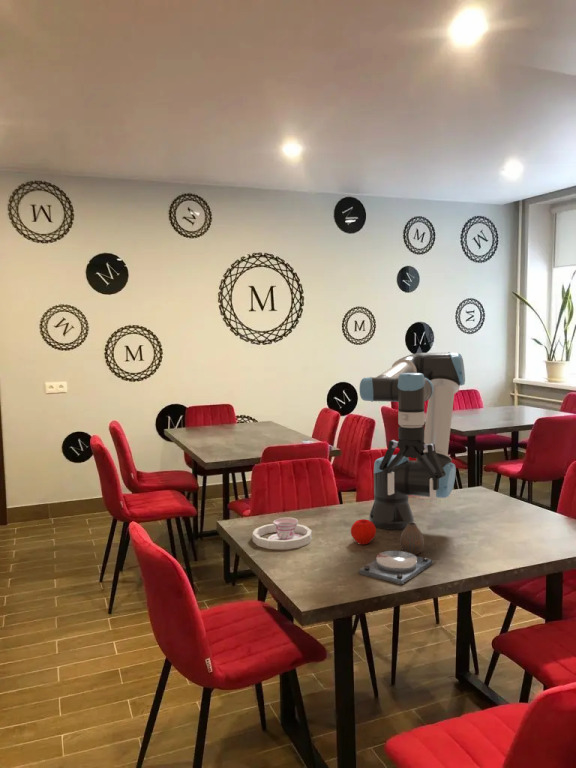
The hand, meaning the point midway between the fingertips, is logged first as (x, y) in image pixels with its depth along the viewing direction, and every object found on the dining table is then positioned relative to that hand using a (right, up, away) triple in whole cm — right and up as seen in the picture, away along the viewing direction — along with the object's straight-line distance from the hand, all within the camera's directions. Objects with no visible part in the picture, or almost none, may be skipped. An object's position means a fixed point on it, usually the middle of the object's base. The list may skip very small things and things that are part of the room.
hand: (411, 497), depth 180 cm
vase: (0, -17, +1) cm, 17 cm away
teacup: (-37, -17, +15) cm, 43 cm away
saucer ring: (-38, -16, +16) cm, 44 cm away
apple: (-13, -16, +11) cm, 23 cm away
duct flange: (-6, -18, -11) cm, 22 cm away
